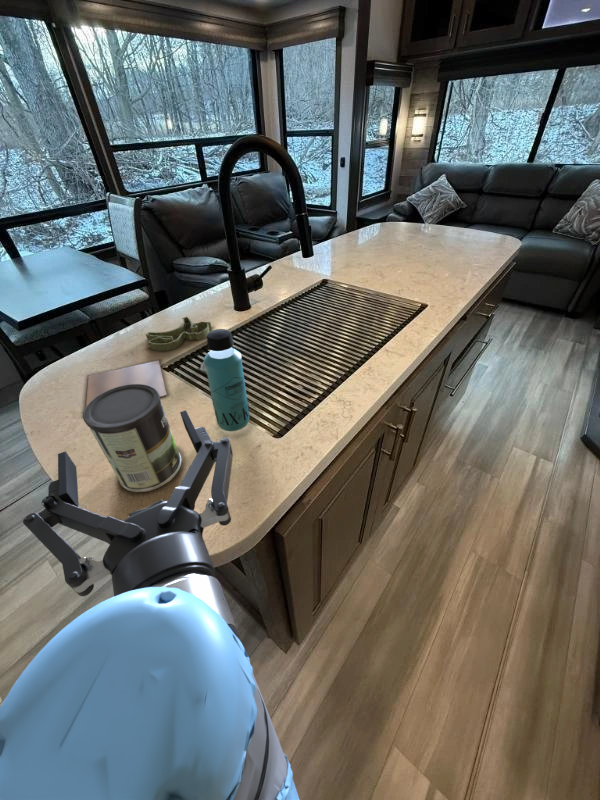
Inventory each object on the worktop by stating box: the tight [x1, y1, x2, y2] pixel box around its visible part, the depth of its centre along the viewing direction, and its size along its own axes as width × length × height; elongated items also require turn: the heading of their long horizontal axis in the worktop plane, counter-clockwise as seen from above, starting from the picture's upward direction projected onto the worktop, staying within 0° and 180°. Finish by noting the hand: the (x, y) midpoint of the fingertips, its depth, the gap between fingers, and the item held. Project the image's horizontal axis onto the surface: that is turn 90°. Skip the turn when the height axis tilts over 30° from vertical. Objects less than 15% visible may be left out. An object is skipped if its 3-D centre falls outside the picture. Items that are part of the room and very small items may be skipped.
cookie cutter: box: [145, 316, 212, 352], centre depth 94 cm, size 18×12×2 cm, turn 142°
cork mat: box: [85, 359, 167, 407], centre depth 76 cm, size 16×16×1 cm
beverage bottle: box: [203, 328, 251, 432], centre depth 58 cm, size 6×7×20 cm
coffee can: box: [82, 384, 182, 493], centre depth 52 cm, size 10×10×14 cm
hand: (130, 438), depth 41 cm, fingers open, 13 cm apart
